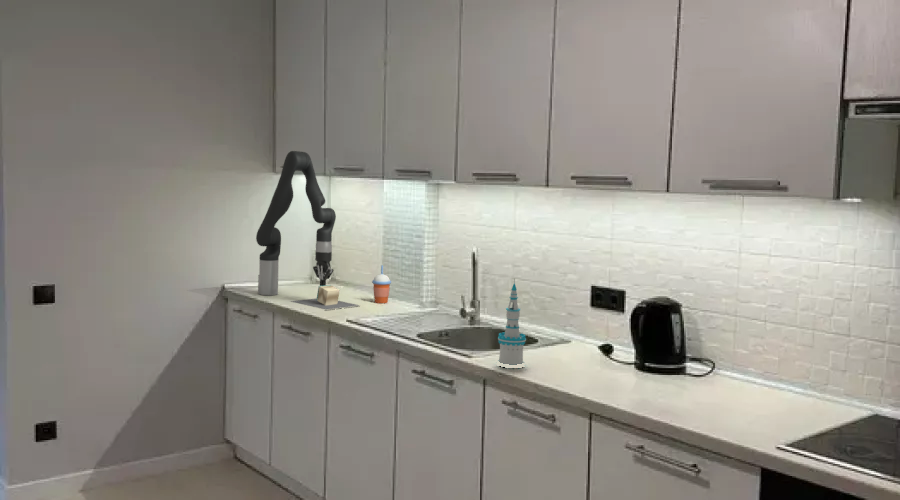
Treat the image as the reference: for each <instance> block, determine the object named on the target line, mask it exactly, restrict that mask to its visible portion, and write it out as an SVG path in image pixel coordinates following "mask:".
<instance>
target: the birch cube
mask: <svg viewBox="0 0 900 500" xmlns="http://www.w3.org/2000/svg"><path fill="white" fill-rule="evenodd" d="M340 290H341V289H339V288H338V287H337V288H336V286H334V285H331V284H328V285H327V284H326V285H325V286H320V285H318V289H317V294H316V298H317V299H316V298H315V299H316V300H317V301H319V302H320V303H322V304H324V305H334V304H337V303H338V301H339V296H340Z"/></svg>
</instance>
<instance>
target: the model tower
mask: <svg viewBox="0 0 900 500" xmlns="http://www.w3.org/2000/svg"><path fill="white" fill-rule="evenodd" d="M515 282H516V279H515V278H514V279H513V286H512V287H511V293H510V296H509V299H510V300H509V304H508V306H507V308H505V309H506V315H505V316H506V320H507V321H506V326H505V331H504V332H503V331H502V332H499V333H498V337H497V340H498V341H497V343H498V344H499V356H498V357H499V358H498V360H497V361H499V362H500V363H503V364H509V365H517V364H522V363H523V362H524V345H525V344H526V341H527V338H526V334H524V333H522V332H521V333H520V326H519V319H520V311H521V308H519V305H518V299H519V296H518V293H517V287H516V283H515Z"/></svg>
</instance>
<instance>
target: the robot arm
mask: <svg viewBox="0 0 900 500" xmlns="http://www.w3.org/2000/svg"><path fill="white" fill-rule="evenodd" d="M296 171H297V172H302V174H303V175H304V178H305V194H306V197H307V198H308V201H309V204H310V206H311V207H310V208H311V214H312V218H313V220H314V222H316V223H317V224H323V225H322V227H320V228H317V229H316V233H315V234H316V236H315V237H316V238H315V240H316V241H315V242H316V243H315V254H314V255H315V256H314V258H315V263H316V265H314V266H313V267H312V269H313V271H314V273H315V277H316V278H318V279H319V286H325V285H327V280H329V279H330V277H331V276H332V274H333V273H334V268H331V261H332V258H333V257H332V256H333V253H332V252H333V245H332V241H333V240H332V239H333V238H332V236H333V235H332V233H333V229H334V226H335V223H336V211H335V210H334V209H333V208H331V207H323V206H324V205H325V203H326V199H325V196H324V194H323V192H322V190H321V187H320V185H319V182H318V180H317V177H316V173H315V168H314V165H313V161H312V158H311V156H310V154H309V153H307V152H306V151H300V150H291V151H289V152H288V153H287V154H286V156H285V159H284V161H283V165H282V169H281V173H280V176H279V179H278V182H277V185H276V187H275V190H274V192H273V194H272V195H273V196H272V198H271V201H270V203H269V205H268V208H267V211H266V214H265V216H264V218H263V220H262V222H261V224H260V226H259V227H258V229H257V232H256V236H255V237H256V238H255V241H256V243H257V245H258V246H259V247H266V248H265V250H264V251H262V252H261V253H260V254H259V259H258V260H259V269H258V271H259V272H258V276H257V277H258V278H257V284H258V285H257V287H258V288H257V294H259V295H261V296H278V294H279V257H280V255H281V244H282V236H281V235H282V234H281V231H280V229H279V228H277V227H276V225H277V223H278V221H280V219H281V218H282V217H283V216H284V215H285V214H286V213H287V212H288V211H289V209H290V207H291V205H292V202H293V199H294V189H293V184H292V183H293V182H292V181H293V177H294V175H295V172H296Z"/></svg>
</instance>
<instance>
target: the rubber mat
mask: <svg viewBox="0 0 900 500" xmlns="http://www.w3.org/2000/svg"><path fill="white" fill-rule="evenodd" d="M316 299H317V297H316V298H309V299H308V298H307V299H299V300H290V301H289V302H291V303H295V304H298V305H299V304H300V305H304V306H308V307H313V308H316V309H322V310H324V311H325V312H328V311H335V309H337V310H343V309H342V308H346V309H351V308H353V307H354V308H360V306H361V305H359V304H355V303H351V302H346V301H341V300H338V303H337V304H334V305H324V304H322V303H320V302H319V301H317V300H316Z"/></svg>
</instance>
